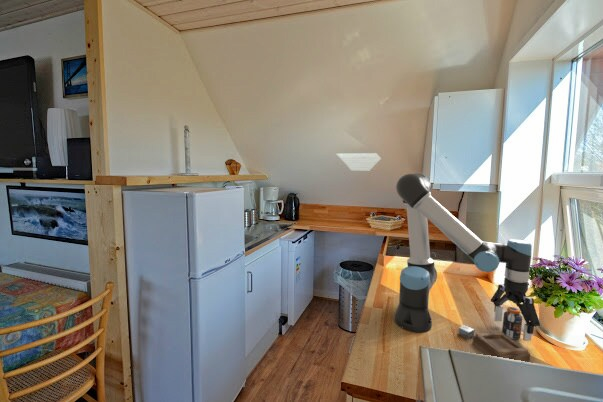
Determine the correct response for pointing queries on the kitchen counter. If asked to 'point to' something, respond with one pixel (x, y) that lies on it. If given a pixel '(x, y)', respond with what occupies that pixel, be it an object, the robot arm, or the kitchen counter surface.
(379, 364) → the kitchen counter surface
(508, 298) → the robot arm
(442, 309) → the kitchen counter surface
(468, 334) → the block
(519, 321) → the pill bottle
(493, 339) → the stand
